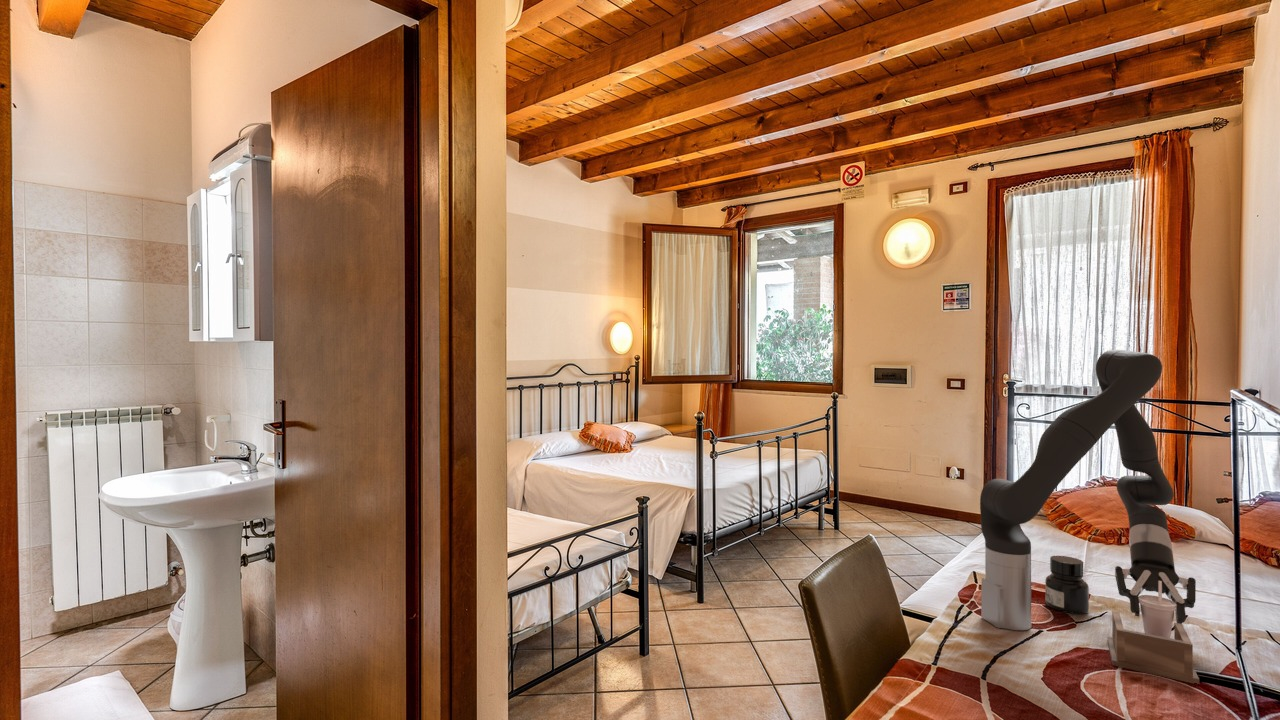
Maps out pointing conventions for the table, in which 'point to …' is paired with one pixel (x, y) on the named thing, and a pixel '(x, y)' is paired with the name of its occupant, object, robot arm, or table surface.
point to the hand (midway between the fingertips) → (1158, 618)
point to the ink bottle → (1067, 586)
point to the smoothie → (1157, 613)
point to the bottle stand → (1152, 652)
